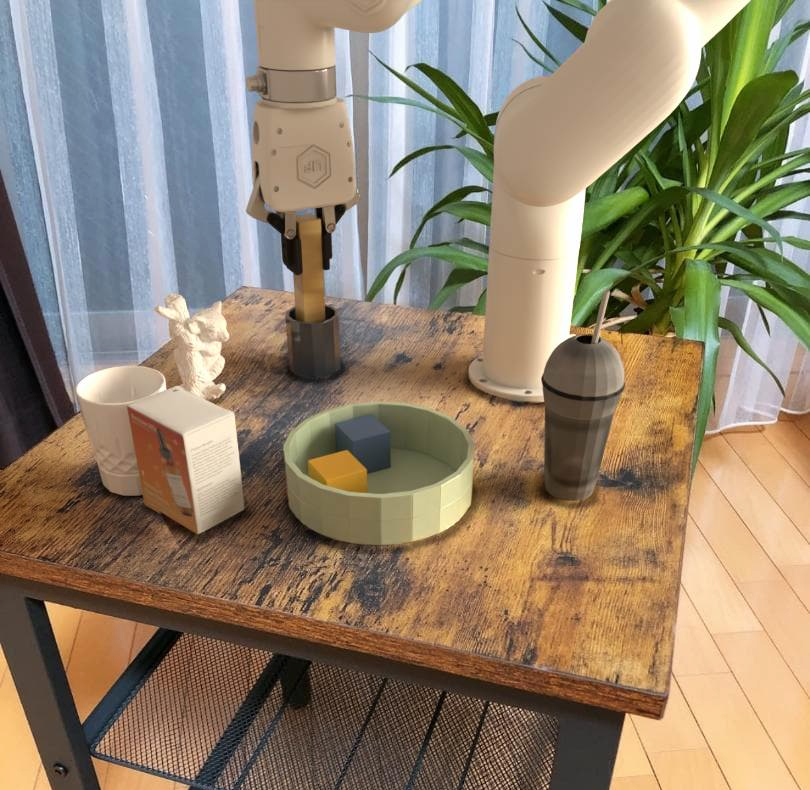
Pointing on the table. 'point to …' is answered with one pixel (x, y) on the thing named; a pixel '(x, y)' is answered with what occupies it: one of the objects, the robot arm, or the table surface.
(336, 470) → the mustard block
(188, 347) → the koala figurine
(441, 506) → the bowl
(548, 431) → the beverage cup
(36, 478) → the table surface
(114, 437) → the white cup
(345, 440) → the blue block
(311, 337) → the utensil pot
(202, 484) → the small box
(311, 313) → the tan wooden bar
